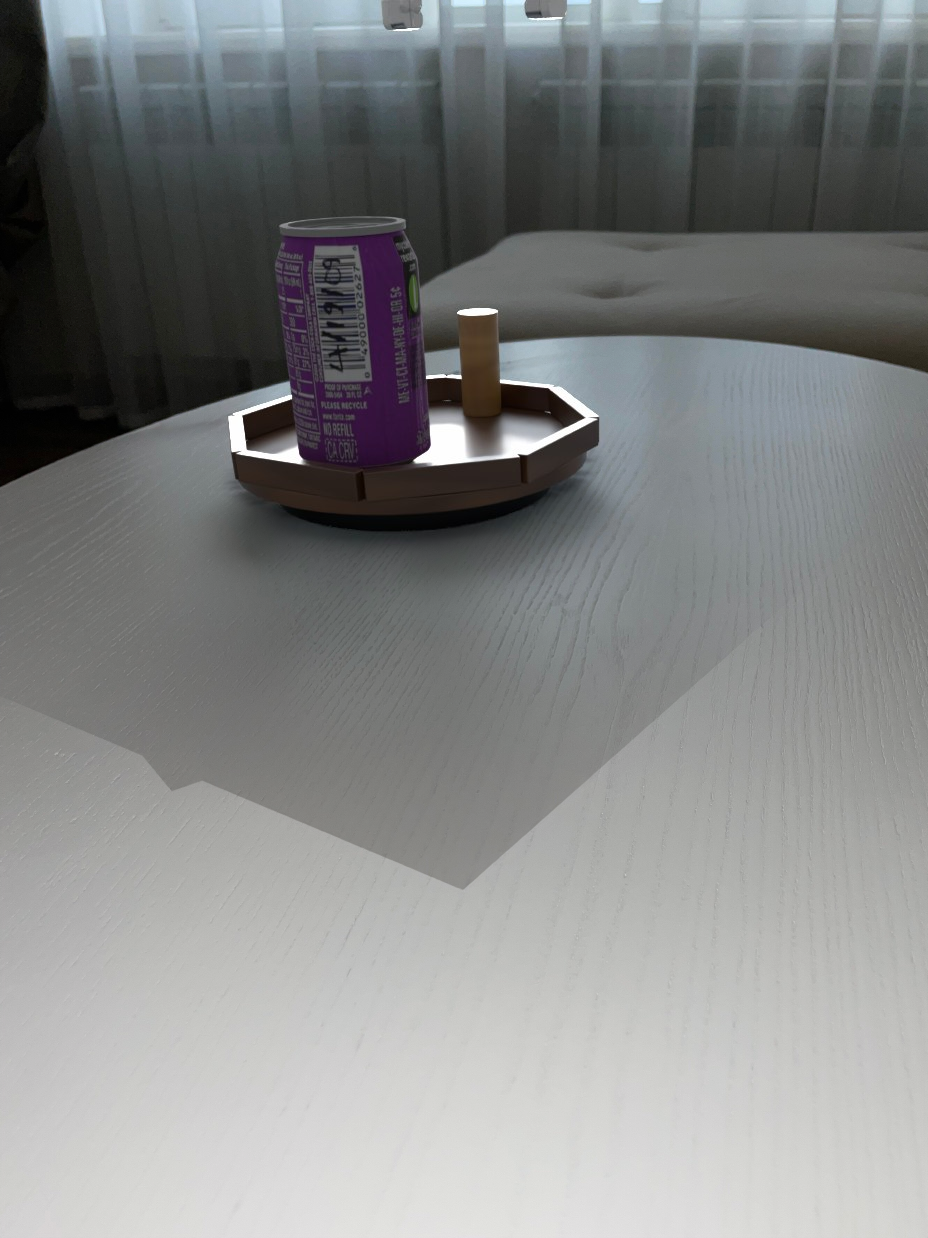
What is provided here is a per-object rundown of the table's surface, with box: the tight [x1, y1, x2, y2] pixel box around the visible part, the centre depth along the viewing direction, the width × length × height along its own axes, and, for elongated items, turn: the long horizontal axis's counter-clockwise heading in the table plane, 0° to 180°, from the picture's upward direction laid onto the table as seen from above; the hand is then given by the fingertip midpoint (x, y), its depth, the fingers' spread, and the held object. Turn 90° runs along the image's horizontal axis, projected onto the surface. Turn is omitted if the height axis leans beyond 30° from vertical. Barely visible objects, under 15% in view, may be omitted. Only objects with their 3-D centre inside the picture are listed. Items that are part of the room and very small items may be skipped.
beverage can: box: [274, 216, 431, 469], centre depth 57 cm, size 7×7×12 cm
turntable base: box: [278, 487, 552, 533], centre depth 64 cm, size 16×16×2 cm
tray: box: [227, 308, 600, 515], centre depth 62 cm, size 20×20×7 cm
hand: (471, 24), depth 58 cm, fingers open, 8 cm apart
